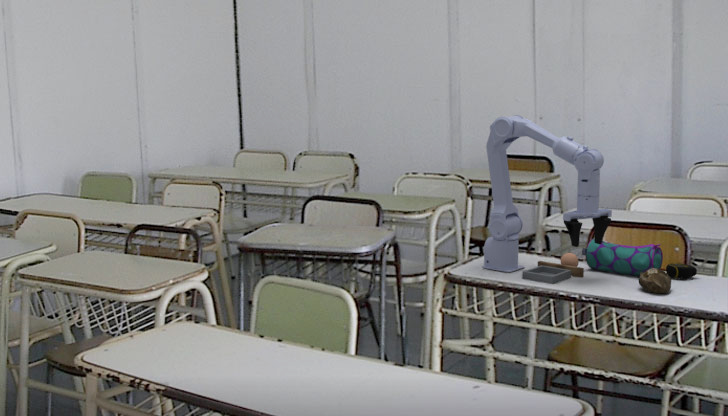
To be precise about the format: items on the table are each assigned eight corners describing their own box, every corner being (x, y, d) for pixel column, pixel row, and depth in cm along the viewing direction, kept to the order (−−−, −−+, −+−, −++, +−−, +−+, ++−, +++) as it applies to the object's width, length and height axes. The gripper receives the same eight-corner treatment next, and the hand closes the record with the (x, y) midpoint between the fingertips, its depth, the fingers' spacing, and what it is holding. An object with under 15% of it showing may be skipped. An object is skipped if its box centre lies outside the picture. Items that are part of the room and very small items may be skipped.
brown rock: (633, 276, 222) (635, 291, 212) (648, 256, 219) (650, 271, 210) (658, 290, 221) (661, 307, 212) (673, 271, 218) (677, 287, 209)
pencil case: (581, 271, 239) (581, 238, 237) (594, 265, 245) (595, 233, 244) (652, 281, 225) (653, 246, 224) (665, 275, 232) (666, 241, 230)
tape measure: (697, 279, 227) (698, 265, 227) (680, 282, 224) (680, 268, 224) (677, 274, 233) (678, 260, 233) (660, 277, 230) (660, 263, 230)
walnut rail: (537, 270, 240) (537, 261, 240) (539, 269, 241) (540, 260, 241) (581, 277, 230) (581, 268, 230) (583, 276, 231) (583, 267, 231)
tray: (522, 278, 231) (522, 271, 230) (541, 272, 237) (541, 265, 237) (552, 284, 224) (552, 276, 224) (571, 277, 231) (571, 270, 230)
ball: (557, 270, 239) (557, 253, 238) (566, 267, 243) (566, 250, 242) (572, 273, 236) (573, 255, 235) (581, 269, 239) (582, 252, 238)
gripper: (575, 199, 217) (573, 250, 220) (619, 195, 223) (618, 245, 225) (558, 195, 224) (557, 245, 226) (602, 191, 229) (601, 240, 232)
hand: (586, 244), depth 226 cm, fingers open, 7 cm apart
